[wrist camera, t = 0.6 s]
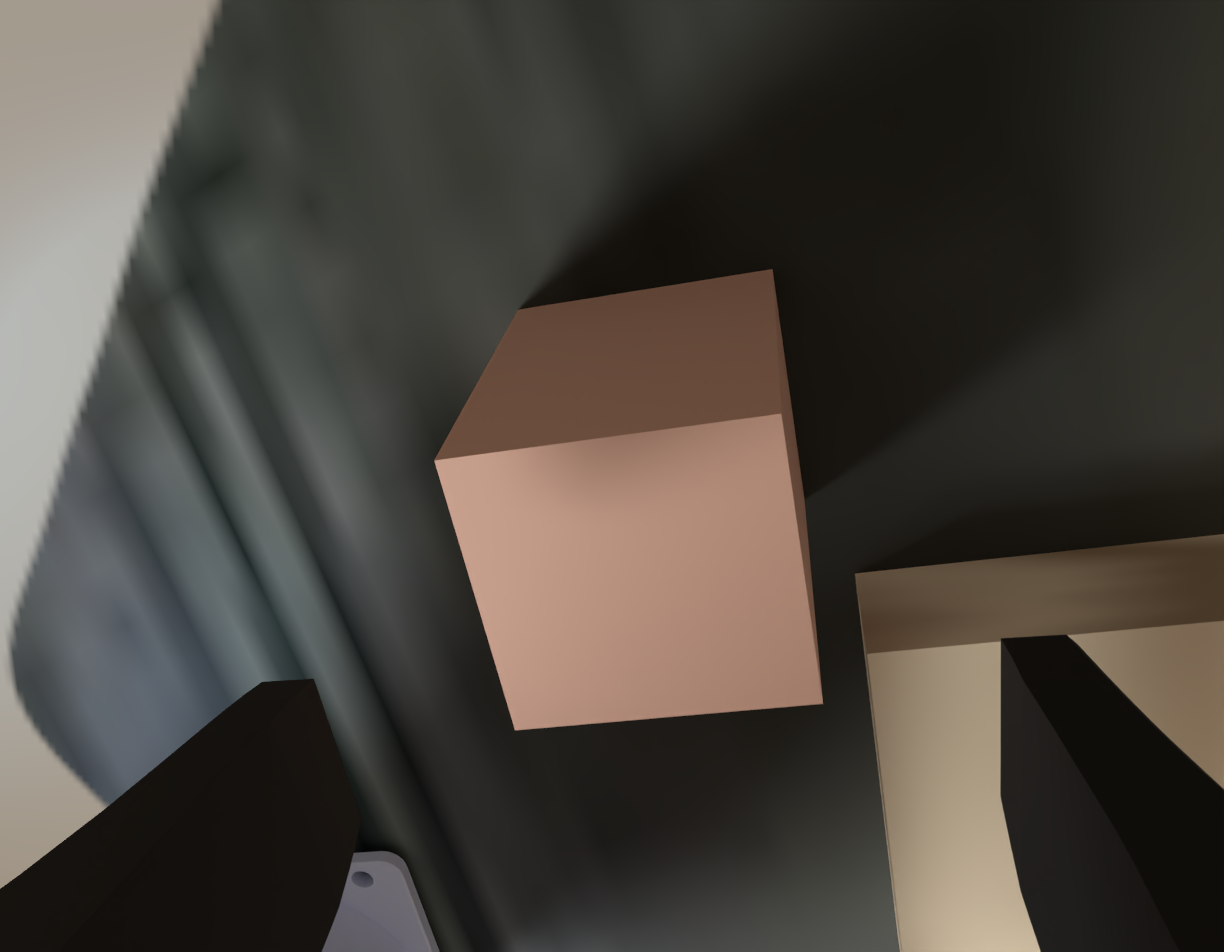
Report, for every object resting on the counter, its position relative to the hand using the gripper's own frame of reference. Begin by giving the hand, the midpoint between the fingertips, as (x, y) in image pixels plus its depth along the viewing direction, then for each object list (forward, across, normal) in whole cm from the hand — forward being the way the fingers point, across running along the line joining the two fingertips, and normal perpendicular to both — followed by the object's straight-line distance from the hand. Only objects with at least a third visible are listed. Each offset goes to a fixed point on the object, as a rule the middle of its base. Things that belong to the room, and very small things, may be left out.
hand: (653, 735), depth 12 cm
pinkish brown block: (+10, +1, 0) cm, 10 cm away
